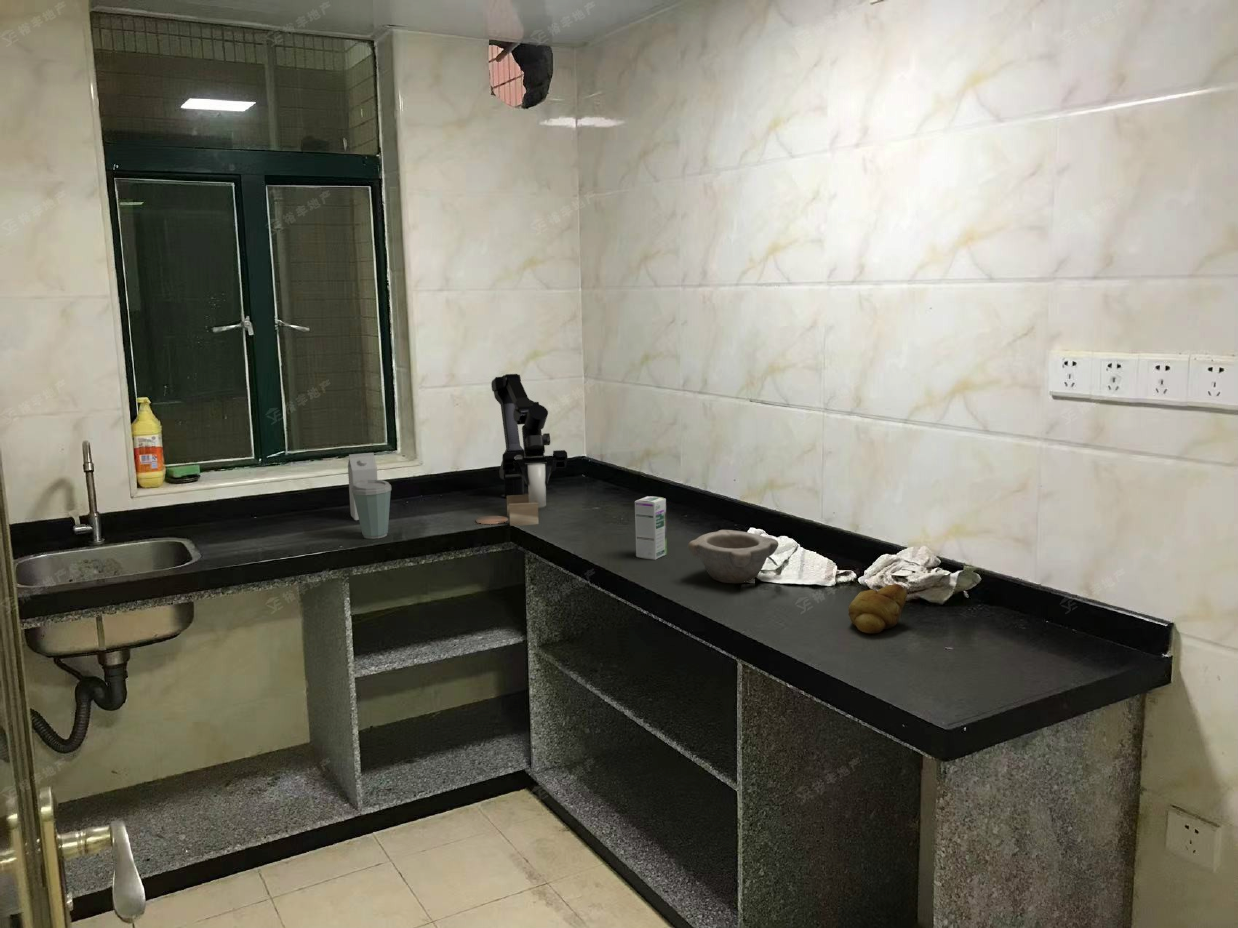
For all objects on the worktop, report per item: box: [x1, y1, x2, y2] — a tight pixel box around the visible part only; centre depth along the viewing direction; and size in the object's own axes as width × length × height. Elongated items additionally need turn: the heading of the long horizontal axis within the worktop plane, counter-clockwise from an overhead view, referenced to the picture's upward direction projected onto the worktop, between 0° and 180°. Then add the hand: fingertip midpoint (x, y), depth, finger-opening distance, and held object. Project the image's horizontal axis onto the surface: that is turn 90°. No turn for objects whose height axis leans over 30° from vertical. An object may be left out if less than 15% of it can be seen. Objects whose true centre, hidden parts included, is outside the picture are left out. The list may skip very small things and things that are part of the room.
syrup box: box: [634, 495, 668, 561], centre depth 241 cm, size 6×6×14 cm
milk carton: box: [347, 452, 378, 521], centre depth 287 cm, size 7×7×19 cm
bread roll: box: [847, 583, 908, 634], centre depth 189 cm, size 13×10×8 cm
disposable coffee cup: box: [352, 478, 392, 540], centre depth 264 cm, size 11×11×15 cm
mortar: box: [687, 529, 779, 584], centre depth 222 cm, size 17×17×9 cm
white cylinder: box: [527, 463, 547, 509], centre depth 282 cm, size 5×5×12 cm
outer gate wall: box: [509, 502, 539, 526], centre depth 277 cm, size 2×8×6 cm, turn 100°
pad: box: [475, 515, 509, 526], centre depth 281 cm, size 9×9×1 cm
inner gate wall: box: [506, 495, 529, 517], centre depth 288 cm, size 2×8×6 cm, turn 100°
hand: (537, 484), depth 280 cm, fingers closed on white cylinder, 5 cm apart
